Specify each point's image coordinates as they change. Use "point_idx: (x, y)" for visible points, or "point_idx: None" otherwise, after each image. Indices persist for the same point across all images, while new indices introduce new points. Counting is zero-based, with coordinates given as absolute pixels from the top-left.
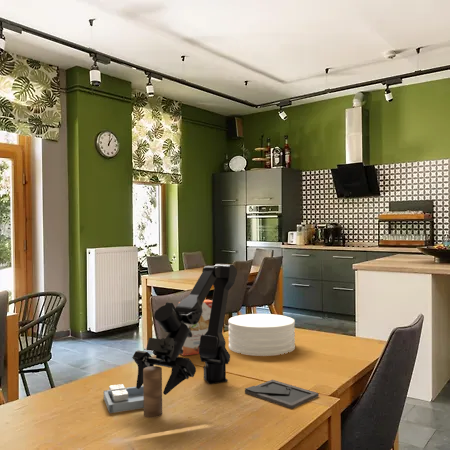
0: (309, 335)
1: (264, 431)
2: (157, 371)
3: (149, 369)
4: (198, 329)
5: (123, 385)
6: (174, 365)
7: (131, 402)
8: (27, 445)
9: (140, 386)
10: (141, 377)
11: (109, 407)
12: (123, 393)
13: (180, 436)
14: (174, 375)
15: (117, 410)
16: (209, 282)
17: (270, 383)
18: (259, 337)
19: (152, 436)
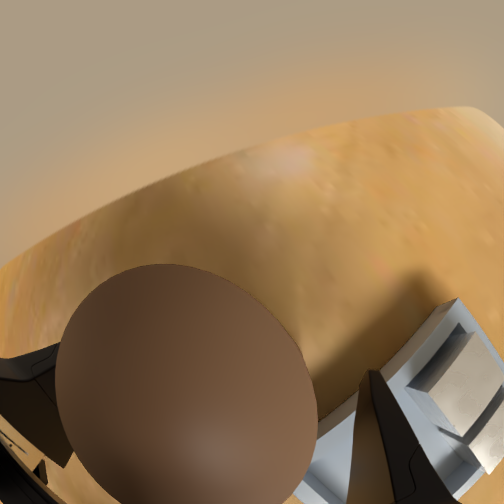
0: None
1: (4, 319)
2: (73, 326)
3: (185, 380)
4: None
5: (483, 463)
6: (14, 472)
7: (389, 378)
8: (451, 107)
9: (357, 406)
10: (374, 447)
11: (452, 300)
12: (452, 384)
13: (120, 242)
14: (18, 357)
15: (424, 329)
16: None
17: None
18: None
19: (195, 213)
